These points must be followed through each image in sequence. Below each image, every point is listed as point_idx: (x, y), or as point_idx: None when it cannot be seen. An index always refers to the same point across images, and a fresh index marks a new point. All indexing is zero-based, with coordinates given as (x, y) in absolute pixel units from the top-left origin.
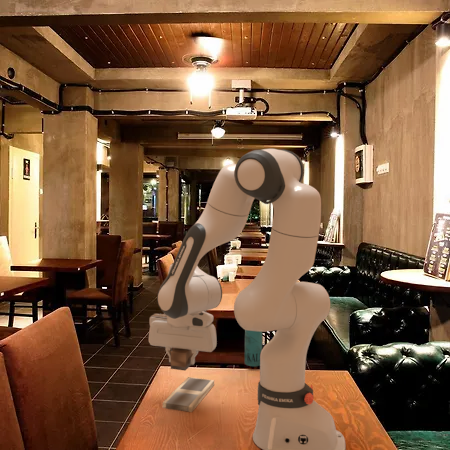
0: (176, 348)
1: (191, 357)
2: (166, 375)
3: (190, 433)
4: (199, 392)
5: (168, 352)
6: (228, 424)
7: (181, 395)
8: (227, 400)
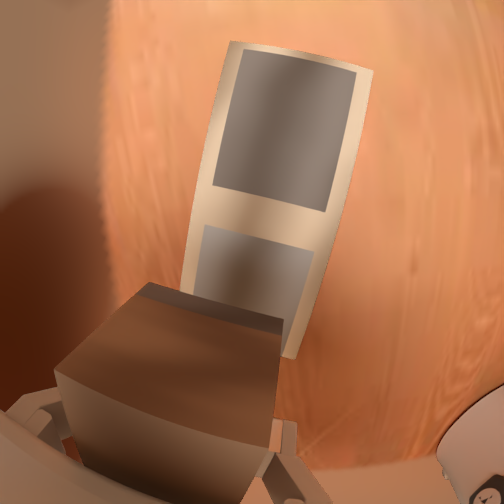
0: (97, 471)
1: (267, 489)
2: (133, 17)
3: (299, 442)
4: (316, 223)
5: (65, 435)
6: (406, 402)
7: (234, 263)
8: (432, 244)
